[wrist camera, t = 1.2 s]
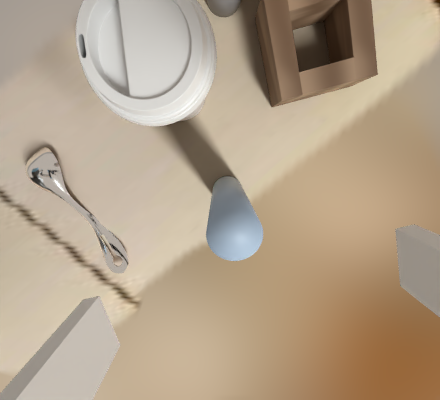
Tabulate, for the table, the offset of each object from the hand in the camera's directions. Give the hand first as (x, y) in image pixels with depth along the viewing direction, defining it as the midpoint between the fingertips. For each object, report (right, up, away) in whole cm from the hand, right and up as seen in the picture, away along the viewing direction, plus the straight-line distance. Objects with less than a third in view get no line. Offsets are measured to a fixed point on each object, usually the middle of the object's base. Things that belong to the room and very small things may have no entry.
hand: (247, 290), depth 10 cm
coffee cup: (-6, +17, +19) cm, 26 cm away
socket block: (+9, +22, +18) cm, 29 cm away
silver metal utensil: (-20, +2, +23) cm, 31 cm away
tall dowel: (0, +5, +22) cm, 22 cm away
